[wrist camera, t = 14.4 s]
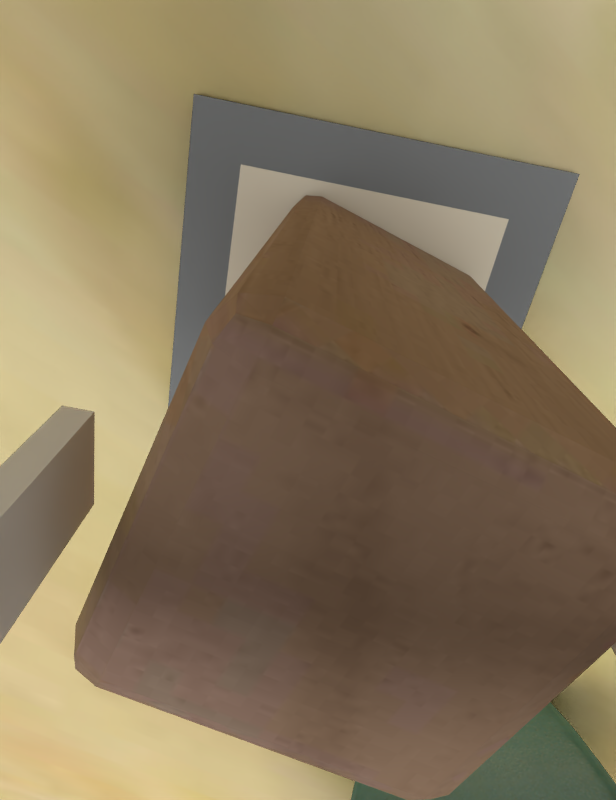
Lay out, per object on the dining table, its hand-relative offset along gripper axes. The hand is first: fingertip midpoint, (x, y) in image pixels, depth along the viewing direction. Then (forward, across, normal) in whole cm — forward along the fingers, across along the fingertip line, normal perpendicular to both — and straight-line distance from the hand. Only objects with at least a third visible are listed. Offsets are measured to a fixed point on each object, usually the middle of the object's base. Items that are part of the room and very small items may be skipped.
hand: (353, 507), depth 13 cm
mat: (+17, 0, -1) cm, 17 cm away
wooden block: (+17, 0, -1) cm, 17 cm away
